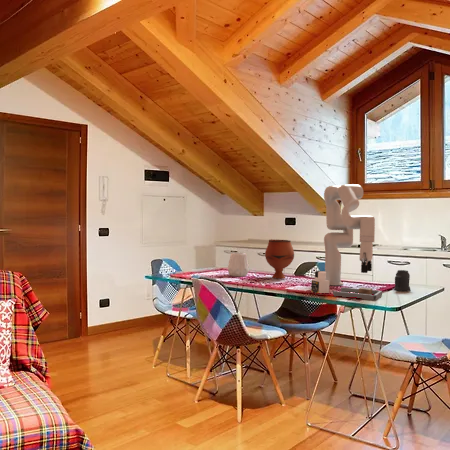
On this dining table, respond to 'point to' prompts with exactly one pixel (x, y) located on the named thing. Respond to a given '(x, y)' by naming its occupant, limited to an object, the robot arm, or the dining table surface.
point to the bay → (364, 296)
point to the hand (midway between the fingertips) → (366, 271)
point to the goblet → (279, 256)
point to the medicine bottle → (320, 283)
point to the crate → (365, 291)
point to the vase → (238, 264)
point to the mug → (402, 281)
